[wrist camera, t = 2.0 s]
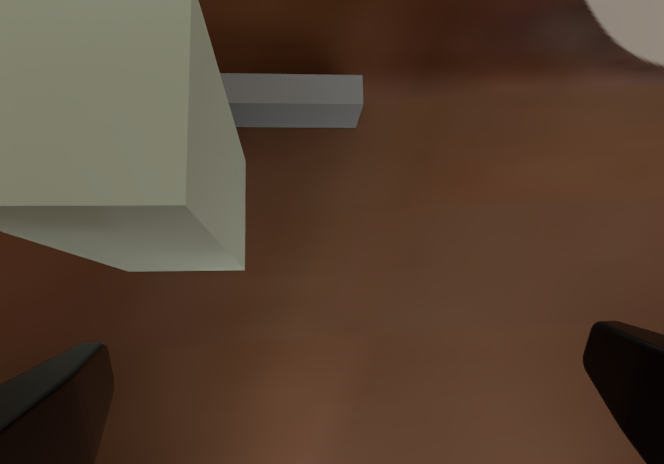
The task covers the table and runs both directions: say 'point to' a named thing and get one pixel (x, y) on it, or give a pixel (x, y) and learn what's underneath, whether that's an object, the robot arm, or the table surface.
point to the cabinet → (119, 135)
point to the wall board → (294, 100)
